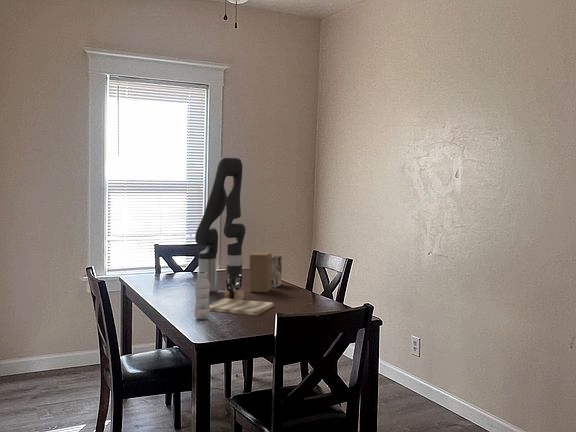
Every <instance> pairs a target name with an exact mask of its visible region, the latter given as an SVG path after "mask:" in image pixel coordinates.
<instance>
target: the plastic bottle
mask: <svg viewBox="0 0 576 432" xmlns="http://www.w3.org/2000/svg"><path fill="white" fill-rule="evenodd" d="M197 273H198V277H199V278H198V280H197V279H196V281H195V283H194V291H195V308H194V313H193V314H194V317H195V319H197V320H202V321H203V320H207V319H210V317H211V315H210V314H211V311H210V309H209V304H210V300H209V299H210V293H211V292H210V282H209V281H208V280H207V278H206V277H207V272H199V271H198V272H197Z"/></svg>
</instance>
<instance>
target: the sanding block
mask: <svg viewBox="0 0 576 432" xmlns="http://www.w3.org/2000/svg"><path fill="white" fill-rule="evenodd" d="M224 298H228V299H230V298H229V291H227V289H225V290H224ZM234 299H238V300H245V290H244V289H239V290H238V289H234Z"/></svg>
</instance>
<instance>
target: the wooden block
mask: <svg viewBox="0 0 576 432" xmlns="http://www.w3.org/2000/svg"><path fill="white" fill-rule="evenodd" d="M272 256H273V254H272V253H271V252H266V251H265V252H262V251H260V252H259V251H255V252H253V253H250V254H249V258H248V259H249V262H248V263H249V264H248V265H249V266H248V268H249V270H248V271H249V275H248V276H249V277H248V278H249V279H248V290H249V292H250V293H264V294H266V293H268V292H269V291H271V289H272V287H271V259H272Z"/></svg>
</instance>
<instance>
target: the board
mask: <svg viewBox="0 0 576 432" xmlns="http://www.w3.org/2000/svg"><path fill="white" fill-rule="evenodd" d="M273 307H274V302H271V301H270V302H269V301H258V300H257V301H256V300H249V299H248V300H247V299H243V300H238V299H228V298H225V297H223V298H220V299H219V300H216V301H214V302H212V303H209V309H210V312H219V313H229V314H240V315H250V316H259V315H260V314H262V313H264V312H266V311H267V310H269V309H271V308H273Z"/></svg>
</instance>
